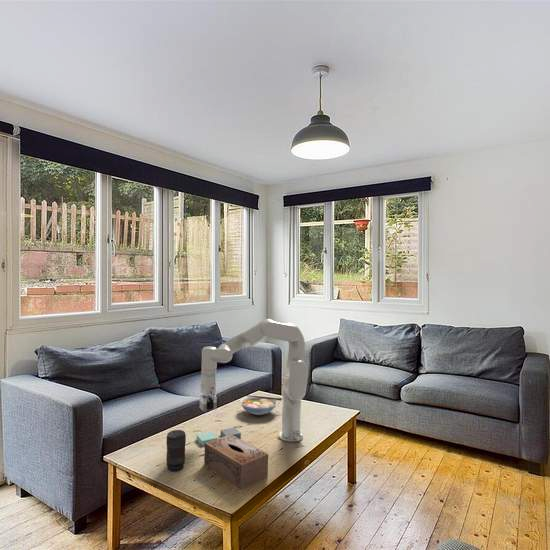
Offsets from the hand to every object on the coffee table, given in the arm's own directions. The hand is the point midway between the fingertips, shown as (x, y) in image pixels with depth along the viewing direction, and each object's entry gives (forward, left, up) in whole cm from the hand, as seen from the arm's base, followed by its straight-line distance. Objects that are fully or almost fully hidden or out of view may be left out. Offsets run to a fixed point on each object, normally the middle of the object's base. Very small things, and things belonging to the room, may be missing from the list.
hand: (208, 406), depth 194 cm
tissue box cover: (-33, -1, -18) cm, 37 cm away
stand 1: (0, 0, -17) cm, 17 cm away
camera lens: (-19, +21, -18) cm, 33 cm away
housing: (0, 0, -1) cm, 1 cm away
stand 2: (0, -13, -17) cm, 22 cm away
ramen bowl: (+22, -41, -18) cm, 50 cm away
